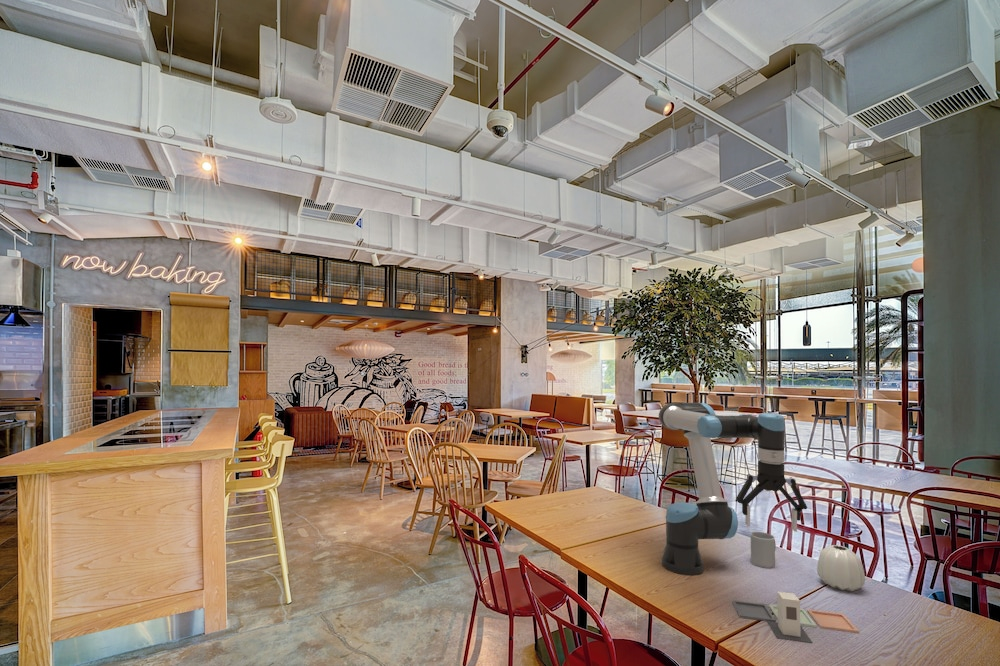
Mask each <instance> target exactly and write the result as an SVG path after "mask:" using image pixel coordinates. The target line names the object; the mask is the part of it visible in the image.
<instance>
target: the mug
mask: <svg viewBox="0 0 1000 666" xmlns="http://www.w3.org/2000/svg"><path fill="white" fill-rule="evenodd" d="M776 545H777V544H776V539H775V536H774V535H772V534H770V533H767V532H761V531H752V532H751V533H750V562H751V564H753V565H754V566H756V567H760V568H764V569H773V568H775V567H776V550H777V549H776V548H777V547H776Z"/></svg>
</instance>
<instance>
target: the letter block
mask: <svg viewBox="0 0 1000 666" xmlns="http://www.w3.org/2000/svg"><path fill="white" fill-rule="evenodd" d="M776 595H777V606H778V620H777V623H778V627H779V629H780V630H781V632H782V633H783V634H784V635H791V636H798V637H801V632H800V609H801V600H800V599H799V598H798V596H797V595H796V594H795V593H792V592H784V591H777V594H776Z"/></svg>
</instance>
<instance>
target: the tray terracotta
mask: <svg viewBox="0 0 1000 666" xmlns="http://www.w3.org/2000/svg"><path fill="white" fill-rule="evenodd" d="M806 612H807V614H808V615H809V616H810V618H811V619H812V620H813V621H814V623H815V624H816V625H817V626H818V627H819V628H820V629H823V630H832V631H839V632H847V633H854V634H855V633H856V634H860V630H859V629H858V628H857V627H856V626H855V625H854V624H853V623H852V622H851V620H849V619H848V617H847V616H846V615H845V614H844V613H838V612H832V611H822V610H815V609H807V611H806Z"/></svg>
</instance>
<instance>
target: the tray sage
mask: <svg viewBox="0 0 1000 666" xmlns="http://www.w3.org/2000/svg"><path fill="white" fill-rule="evenodd" d="M768 608H769V610H770V611H771V613H772V615H773V616H774V618H775V619H776V621H778V605H775V604H768ZM800 626H801V627H806V628H816V629H817V628H818V627H817V626H818V624H817V623H816V622H815V621H814V619H813V618H812V617H811V616H810V614H809V613H808V612H807V611H806V610H805V609H804V608H800Z"/></svg>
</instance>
